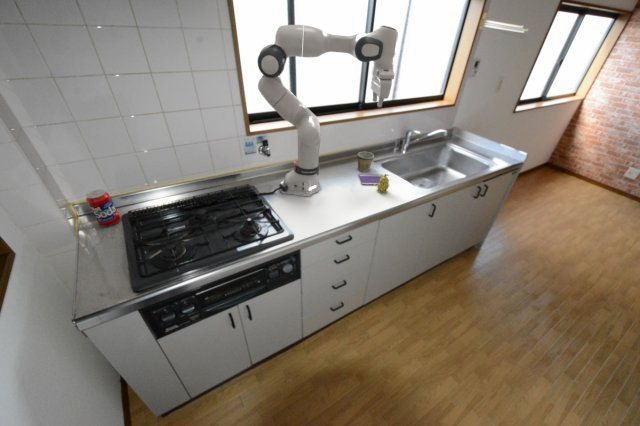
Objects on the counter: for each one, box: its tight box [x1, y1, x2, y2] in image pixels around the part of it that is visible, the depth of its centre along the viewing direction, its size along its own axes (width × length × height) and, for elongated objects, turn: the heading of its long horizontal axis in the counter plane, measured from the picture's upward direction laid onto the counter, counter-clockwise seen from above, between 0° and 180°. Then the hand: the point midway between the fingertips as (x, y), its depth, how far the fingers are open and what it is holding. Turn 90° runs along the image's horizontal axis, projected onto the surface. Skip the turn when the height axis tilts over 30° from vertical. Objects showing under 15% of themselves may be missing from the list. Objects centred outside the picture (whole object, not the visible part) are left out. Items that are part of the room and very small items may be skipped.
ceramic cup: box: [357, 151, 375, 173], centre depth 172 cm, size 13×10×10 cm
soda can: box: [85, 189, 121, 227], centre depth 116 cm, size 8×8×15 cm
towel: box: [358, 174, 384, 186], centre depth 163 cm, size 15×12×1 cm
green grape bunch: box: [376, 173, 390, 194], centre depth 150 cm, size 6×6×11 cm
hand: (376, 104), depth 127 cm, fingers open, 8 cm apart
